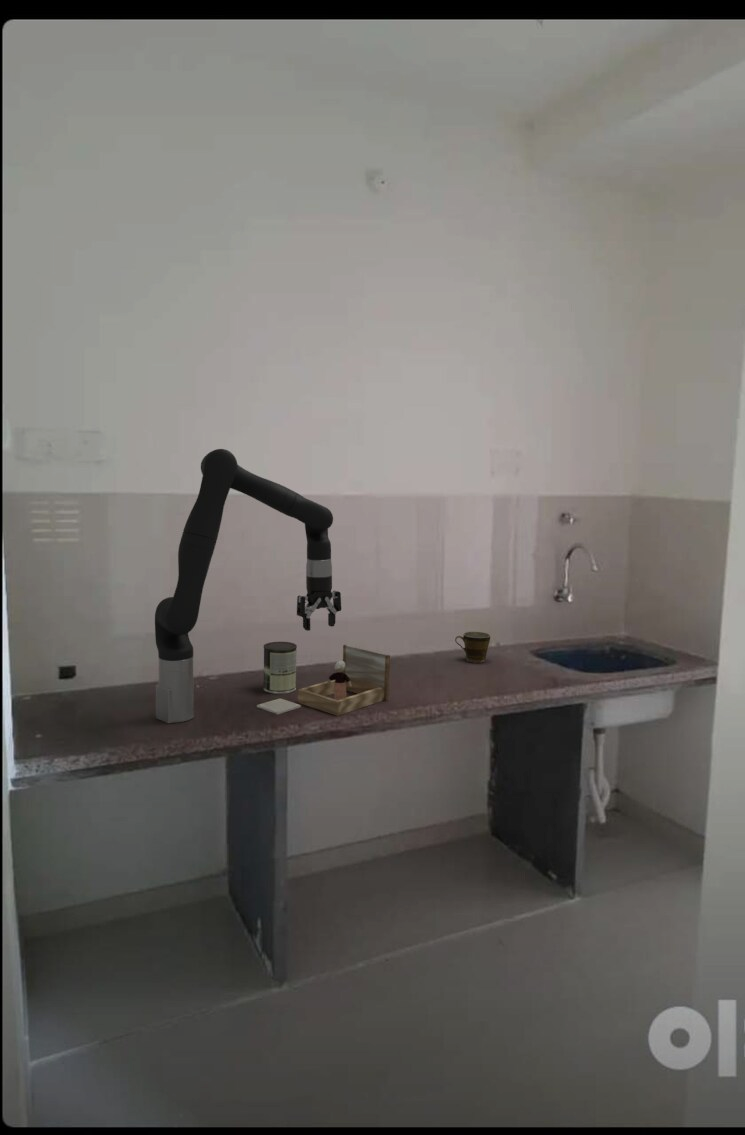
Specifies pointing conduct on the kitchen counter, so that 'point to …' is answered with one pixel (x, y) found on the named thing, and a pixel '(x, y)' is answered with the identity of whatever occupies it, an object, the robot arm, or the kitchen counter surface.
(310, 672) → the kitchen counter surface
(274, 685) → the coffee can
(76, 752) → the kitchen counter surface
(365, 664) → the cold frame
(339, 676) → the grandmother figurine
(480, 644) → the ceramic cup
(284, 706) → the tile
